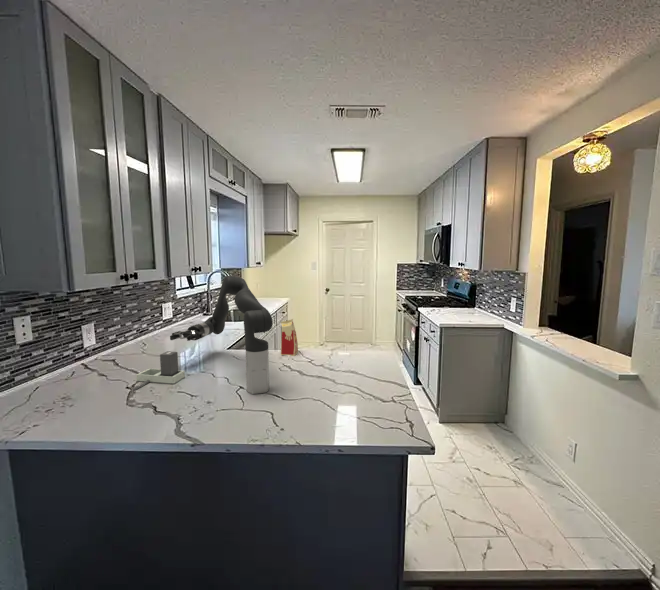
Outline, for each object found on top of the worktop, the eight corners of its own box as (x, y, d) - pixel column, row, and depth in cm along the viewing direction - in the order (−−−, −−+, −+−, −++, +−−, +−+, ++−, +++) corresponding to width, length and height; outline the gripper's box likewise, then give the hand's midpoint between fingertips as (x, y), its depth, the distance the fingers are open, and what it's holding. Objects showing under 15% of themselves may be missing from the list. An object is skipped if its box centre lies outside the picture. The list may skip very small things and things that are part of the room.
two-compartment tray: (160, 392, 137) (159, 385, 137) (120, 389, 140) (120, 382, 140) (184, 377, 154) (184, 370, 153) (149, 375, 157) (148, 368, 156)
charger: (171, 381, 147) (170, 354, 146) (161, 381, 148) (159, 354, 147) (178, 377, 152) (177, 351, 151) (168, 377, 153) (167, 351, 152)
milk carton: (298, 351, 196) (297, 317, 193) (294, 356, 187) (294, 320, 184) (282, 351, 197) (282, 317, 194) (278, 355, 188) (278, 320, 185)
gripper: (185, 323, 173) (164, 330, 157) (211, 324, 170) (193, 330, 154) (186, 338, 173) (165, 345, 158) (211, 338, 171) (193, 346, 155)
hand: (179, 338), depth 156 cm, fingers open, 8 cm apart
